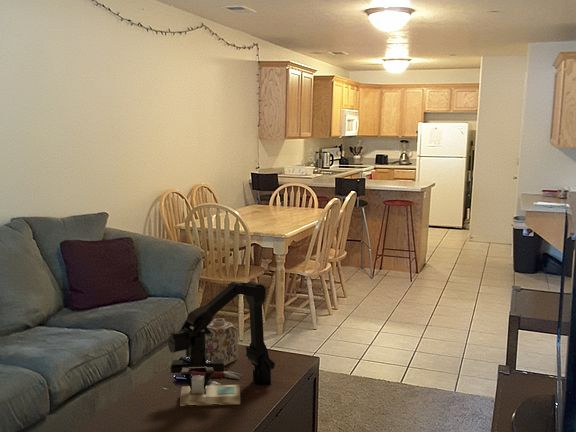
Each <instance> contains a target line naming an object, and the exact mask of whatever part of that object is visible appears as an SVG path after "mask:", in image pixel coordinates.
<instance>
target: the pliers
mask: <svg viewBox="0 0 576 432" xmlns="http://www.w3.org/2000/svg"><path fill="white" fill-rule="evenodd" d="M205 372H206V371H205ZM205 372H204V371H202V372H201V371H195V370H192V371H191V374H192V375H201V376H204V377H205ZM244 375H245V374H242V373H238V372H235V371H234V372H233V371H229V370H228V368H224V371H223V372H215V371H214V374H211V375H210V378H211V377H215V378H220V379H223V378H227V377H228V379H229V378H230V379H238V380H239V379H242V378H241V377H244ZM223 376H224V377H223ZM210 378H209V379H210ZM211 379H212V378H211Z"/></svg>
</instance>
